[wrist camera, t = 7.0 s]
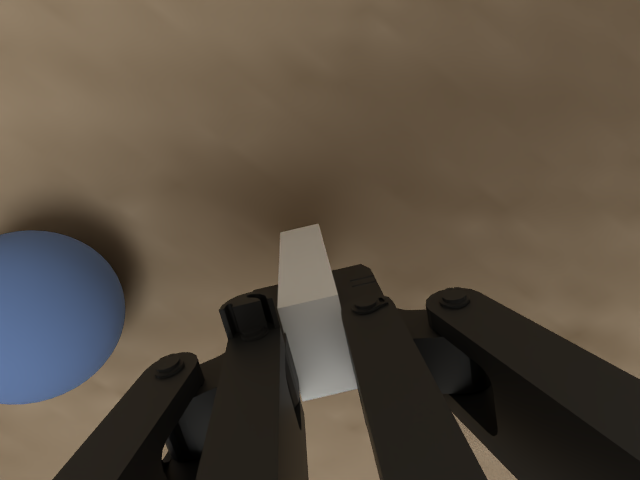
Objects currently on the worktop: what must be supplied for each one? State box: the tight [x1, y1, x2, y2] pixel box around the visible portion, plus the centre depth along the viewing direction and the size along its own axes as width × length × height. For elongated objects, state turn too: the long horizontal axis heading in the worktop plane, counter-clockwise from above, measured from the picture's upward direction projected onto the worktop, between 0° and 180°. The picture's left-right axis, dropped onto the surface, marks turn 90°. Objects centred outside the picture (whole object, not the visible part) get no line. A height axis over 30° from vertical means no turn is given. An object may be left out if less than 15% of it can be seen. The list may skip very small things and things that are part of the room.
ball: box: [0, 230, 125, 404], centre depth 16 cm, size 6×6×6 cm
